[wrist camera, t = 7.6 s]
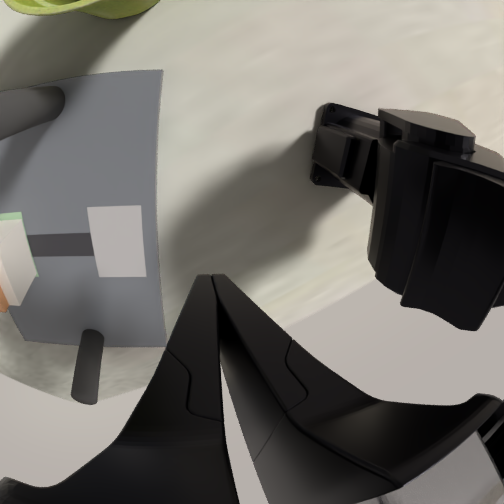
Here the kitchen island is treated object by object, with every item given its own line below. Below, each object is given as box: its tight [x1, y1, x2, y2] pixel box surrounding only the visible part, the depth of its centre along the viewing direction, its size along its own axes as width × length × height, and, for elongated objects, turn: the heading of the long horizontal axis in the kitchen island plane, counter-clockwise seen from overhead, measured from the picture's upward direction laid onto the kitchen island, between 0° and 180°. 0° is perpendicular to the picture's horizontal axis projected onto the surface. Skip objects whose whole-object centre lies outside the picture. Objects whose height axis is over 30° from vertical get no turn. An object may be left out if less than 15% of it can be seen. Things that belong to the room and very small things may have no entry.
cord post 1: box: [0, 86, 65, 141], centre depth 9 cm, size 2×2×7 cm
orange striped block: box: [0, 219, 37, 313], centre depth 14 cm, size 3×5×5 cm, turn 173°
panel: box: [0, 70, 167, 347], centre depth 17 cm, size 17×24×1 cm
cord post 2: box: [71, 329, 104, 405], centre depth 20 cm, size 2×2×7 cm
